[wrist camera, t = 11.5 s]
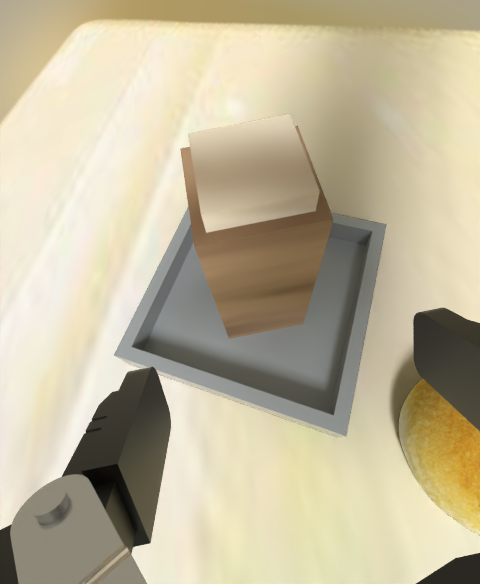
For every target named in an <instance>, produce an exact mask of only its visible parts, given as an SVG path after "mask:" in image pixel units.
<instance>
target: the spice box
mask: <svg viewBox="0 0 480 584" xmlns="http://www.w3.org/2000/svg"><path fill="white" fill-rule="evenodd" d="M188 136H189V143H190V147H187V148H182V149H181V156H182V163H183V170H184V177H185V185H186V192H187V199H188V206H189V213H190V220H191V227H192V235H193V242H194V248H195V250H196V253H197V256H198V258H199V261H200V263H201V266H202V269H203V271H204V274H205V277H206V279H207V282H208V285H209V287H210V290H211V292H212V295H213V298H214V300H215V303H216V306H217V308H218V311H219V314H220V316H221V319H222V322H223V324H224V327H225V329H226V332H227V335H228V337H229V339H231V338H236V337H241V336H246V335H251V334H256V333H261V332H266V331H271V330H276V329H281V328H286V327H291V326H297V325H302V324H303V323H304V320H305V316H306V313H307V310H308V306H309V303H310V299H311V296H312V292H313V289H314V285H315V282H316V278H317V275H318V271H319V268H320V264H321V261H322V258H323V254H324V251H325V247H326V244H327V240H328V237H329V233H330V230H331V226H332V223H333V217H332V214H331V212H330V209H329V206H328V204H327V201H326V199H325V196H324V193H323V191H322V188H321V186H320V183H319V181H318V178H317V175H316V173H315V170H314V168H313V165H312V162H311V160H310V157H309V155H308V152H307V149H306V147H305V144H304V142H303V139H302V136H301V134H300V131H299V129H298V126H295V125H294V123H293V120H292V118H291V115H290V114H286V115H281V116H276V117H271V118H266V119H260V120H255V121H250V122H245V123H240V124H235V125H230V126H225V127H220V128H215V129H210V130H204V131H199V132H194V133H189V134H188Z"/></svg>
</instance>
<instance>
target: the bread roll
mask: <svg viewBox="0 0 480 584" xmlns="http://www.w3.org/2000/svg"><path fill="white" fill-rule="evenodd" d="M399 436H400V442H401V446H402V449H403V452H404V454H405V456H406V459H407V462H408V464H409V467H410V469H411V471H412V473H413V474H414V476H415V478H416V480H417V481H418V483H419V484H420V486H421V487H422V488H423V490H424V491H425V492H426V494H427V495H428V496H429V497H430V498H431V500H432V501H433V502H434V503H435V504H436V505H437V506H438V507H439V508H440V509H442V510H443V511H444V512H445V513H447V515H448V516H450V517H452V518H453V519H454V520H456V521H457V522H458V523H460V524H461V525H462V526H464V527H466V528H467V529H469V530H470V531H472V532H474V533H476V534H478V535H480V431H479V430H478V429H477V428H475V427H474V426H473V425H472V424H471V423H470V422H469V421H468V420H467V419H466V418H465V417H464V416H463V415H462V414H460V413H459V412H458V411H457V410H456V409H455V408H454V407H453V406H452V405H451V404H450V403H449V402H448V401H447V400H445V399H444V398H443V397H442V396H441V395H440V394H439V393H438V392H437V391H436V390H435V389H434V388H433V387H431V386H430V385H429V384H428V383H427V382H426V381H425V380H424V379H423V378H422V379H421V380H420V381H419V382H418V383H417V384H416V385H415V386H414V388H413V389H412V390H411V392H410V393H409V395H408V397H407V398H406V399H405V401H404V404H403V406H402V409H401V412H400V417H399Z"/></svg>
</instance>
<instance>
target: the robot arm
mask: <svg viewBox="0 0 480 584" xmlns="http://www.w3.org/2000/svg"><path fill="white" fill-rule="evenodd" d="M413 324H414V362H415V366H416V368H417V371H418V372H419V374H420V376H421V377H422V378H423V379H424V380H425V381H426V382H427V383H428V384H429V385H430V386H431V387H433V388H434V389H435V390H436V391H437V392H438V393H439V394H440V395H441V396H442V397H443V398H444V399H445V400H447V401H448V402H449V403H450V404H451V405H452V406H453V407H454V408H455V409H456V410H457V411H458V412H459V413H460V414H462V415H463V416H464V417H465V418H466V419H467V420H468V421H469V422H470V423H471V424H472V425H473V426H474V427H475V428H477V429H478V430H479V431H480V323H477V322H474V321H470V320H467V319H465V318H463V317H461V316H460V315H458V314H456V313H454V312H452V311H450V310H448V309H446V308H438V309H433V310H428V311H423V312H419V313H417V314H416V315H415V316H414V322H413ZM170 430H171V419H170V412H169V408H168V405H167V402H166V398H165V395H164V392H163V389H162V386H161V383H160V380H159V376H158V373H157V371H156V369H155V368H154V367H149V368H144V369H139V370H135V371H130V372H128V373H127V374H126V376H125V378H124V380H123V383H122V385H121V387H120V389H119V391H115V392H112V393H111V394H110V395H109V396H108V397H107V398H106V399H105V400H104V401H103V402H102V403H101V404H100V405H99V406H98V408H97V410H96V412H95V414H94V416H93V418H92V422H90V423H89V425H88V427H87V429H86V434H84V435H83V437H82V439H81V441H80V443H79V445H78V447H77V448H76V450H75V452H74V454H73V456H72V458H71V460H70V462H69V464H68V466H67V468H66V470H65V471H64V473H63V475H62V477H61V478H58V479H56V480H54V481H52V482H50V483H48V484H47V485H45V486H44V487H42V488H41V489H39V490H38V491H37V492H36V493H35V494H33V495H32V496H31V497H30V498H29V499H28V500H27V501H26V502H25V503H24V505H23V506H22V507H21V508H20V510H19V511H18V513H17V514H16V516H15V518H14V520H13V523H12V525H10V526H8V527H5V528H3V529H1V530H0V584H147V583H146V581H145V579H144V577H143V575H142V574H141V572H140V570H139V568H138V566H137V564H136V563H135V561H134V559H133V557H132V555H131V553H132V549H133V547H135V546H139V545H144V544H149V543H150V542H151V537H152V531H153V526H154V520H155V514H156V509H157V503H158V497H159V492H160V486H161V481H162V475H163V469H164V464H165V458H166V453H167V447H168V441H169V436H170ZM416 584H480V553H478V554H473V555H468V556H464V557H459V558H455V559H454V560H452V561H451V562H449V563H447V564H446V565H444V566H443V567H441V568H440V569H438V570H437V571H435V572H433V573H432V574H430V575H429V576H427V577H426V578H424V579H423V580H421V581H420V582H418V583H416Z"/></svg>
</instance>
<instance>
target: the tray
mask: <svg viewBox="0 0 480 584" xmlns="http://www.w3.org/2000/svg"><path fill="white" fill-rule="evenodd" d="M331 214H332V217H333V223H332V226H331V230H330V233H329V237H328V240H327V244H326V247H325V251H324V254H323V258H322V261H321V264H320V268H319V271H318V275H317V278H316V282H315V285H314V289H313V292H312V296H311V299H310V303H309V306H308V310H307V313H306V316H305V320H304V323H303V324H302V325H297V326H291V327H286V328H281V329H276V330H271V331H266V332H261V333H256V334H251V335H246V336H241V337H236V338H231V339H229V337H228V335H227V332H226V329H225V327H224V324H223V322H222V319H221V316H220V314H219V311H218V308H217V306H216V303H215V300H214V298H213V295H212V292H211V290H210V287H209V285H208V282H207V279H206V277H205V274H204V271H203V269H202V266H201V263H200V261H199V258H198V256H197V253H196V250H195V248H194V242H193V235H192V227H191V220H190V213H189V206H188V208H187V210H186V212H185V214H184V216H183V218H182V220H181V222H180V224H179V226H178V228H177V230H176V232H175V234H174V236H173V238H172V240H171V242H170V244H169V246H168V248H167V250H166V252H165V254H164V256H163V258H162V260H161V262H160V264H159V266H158V268H157V270H156V272H155V274H154V276H153V278H152V280H151V282H150V284H149V286H148V288H147V290H146V292H145V294H144V296H143V298H142V300H141V302H140V304H139V306H138V308H137V310H136V312H135V314H134V316H133V318H132V320H131V322H130V324H129V326H128V328H127V330H126V332H125V334H124V336H123V338H122V340H121V342H120V344H119V346H118V348H117V350H116V352H115V354H114V355H115V356H116V357H118V358H120V359H122V360H123V361H125V362H127V363H129V364H130V365H133V366H136V367H139V368H142V369H144V368H149V367H154V368H155V369H156V371H157V373H158V374H159V375H162V376H165V377H167V378H170V379H173V380H176V381H179V382H182V383H184V384H187V385H190V386H193V387H196V388H199V389H202V390H204V391H207V392H210V393H213V394H216V395H219V396H221V397H224V398H227V399H230V400H233V401H236V402H239V403H241V404H244V405H247V406H250V407H253V408H256V409H258V410H261V411H264V412H267V413H270V414H273V415H275V416H278V417H281V418H284V419H287V420H290V421H293V422H295V423H298V424H301V425H304V426H307V427H310V428H312V429H315V430H318V431H321V432H324V433H327V434H329V435H332V436H335V437H343V436H346V434H347V429H348V423H349V418H350V413H351V408H352V402H353V397H354V392H355V387H356V381H357V376H358V371H359V365H360V360H361V355H362V350H363V344H364V339H365V334H366V329H367V323H368V318H369V313H370V307H371V302H372V297H373V292H374V286H375V281H376V276H377V271H378V265H379V260H380V255H381V249H382V244H383V239H384V234H385V228H386V224H382V223H377V222H373V221H368V220H363V219H358V218H353V217H349V216H344V215H339V214H334V213H331Z"/></svg>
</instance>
